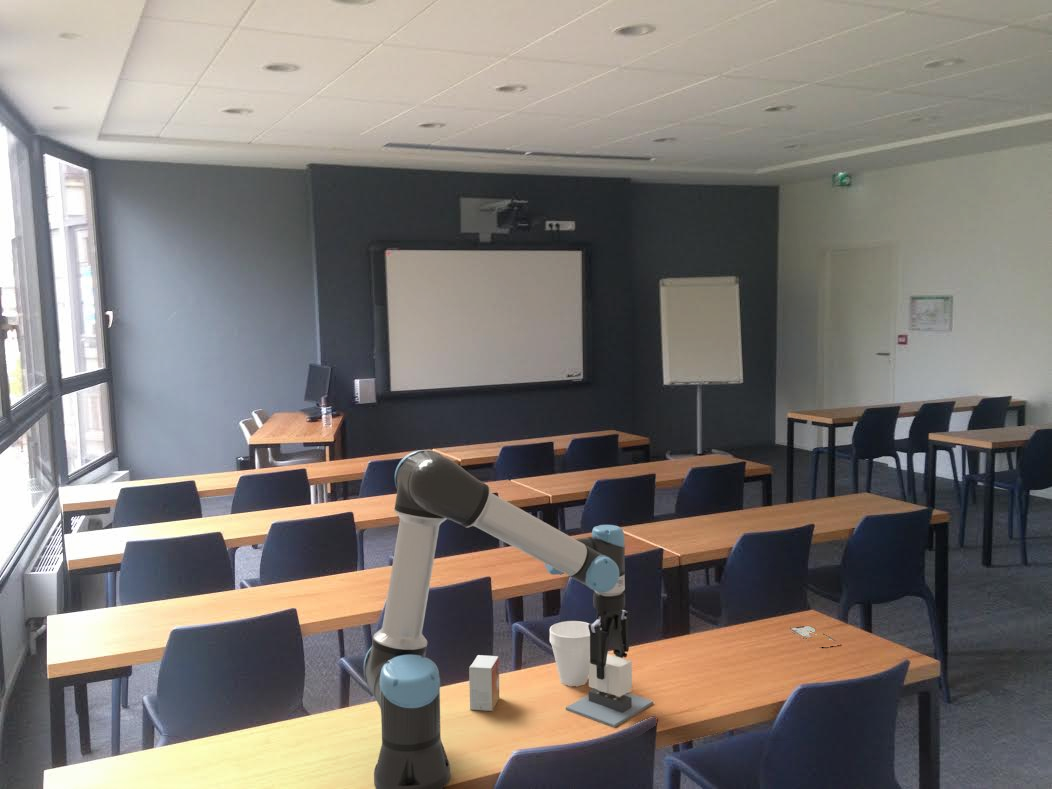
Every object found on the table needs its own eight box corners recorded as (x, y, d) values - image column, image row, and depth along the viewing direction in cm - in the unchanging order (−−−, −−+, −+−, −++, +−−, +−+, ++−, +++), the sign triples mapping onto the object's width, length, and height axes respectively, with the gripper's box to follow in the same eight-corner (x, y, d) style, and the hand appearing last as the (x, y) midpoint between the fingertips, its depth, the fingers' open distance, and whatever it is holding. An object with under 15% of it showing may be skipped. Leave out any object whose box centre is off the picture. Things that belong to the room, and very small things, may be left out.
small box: (492, 712, 196) (491, 668, 195) (469, 710, 197) (468, 667, 196) (500, 697, 204) (499, 655, 203) (478, 695, 205) (477, 654, 204)
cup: (606, 686, 209) (605, 633, 208) (561, 694, 205) (561, 640, 204) (585, 668, 221) (584, 618, 220) (542, 675, 216) (541, 624, 215)
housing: (619, 696, 193) (619, 667, 192) (588, 686, 199) (588, 658, 198) (631, 689, 196) (631, 661, 196) (601, 679, 202) (601, 651, 202)
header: (614, 727, 187) (613, 697, 187) (565, 709, 196) (565, 680, 196) (653, 703, 199) (653, 675, 199) (605, 687, 208) (605, 660, 208)
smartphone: (819, 647, 232) (788, 628, 247) (819, 651, 232) (788, 631, 247) (842, 644, 234) (809, 625, 249) (842, 648, 234) (809, 628, 249)
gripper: (598, 604, 187) (600, 704, 188) (643, 585, 200) (644, 679, 202) (572, 597, 192) (574, 695, 193) (618, 579, 205) (619, 671, 207)
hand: (610, 686), depth 198 cm, fingers closed on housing, 5 cm apart
